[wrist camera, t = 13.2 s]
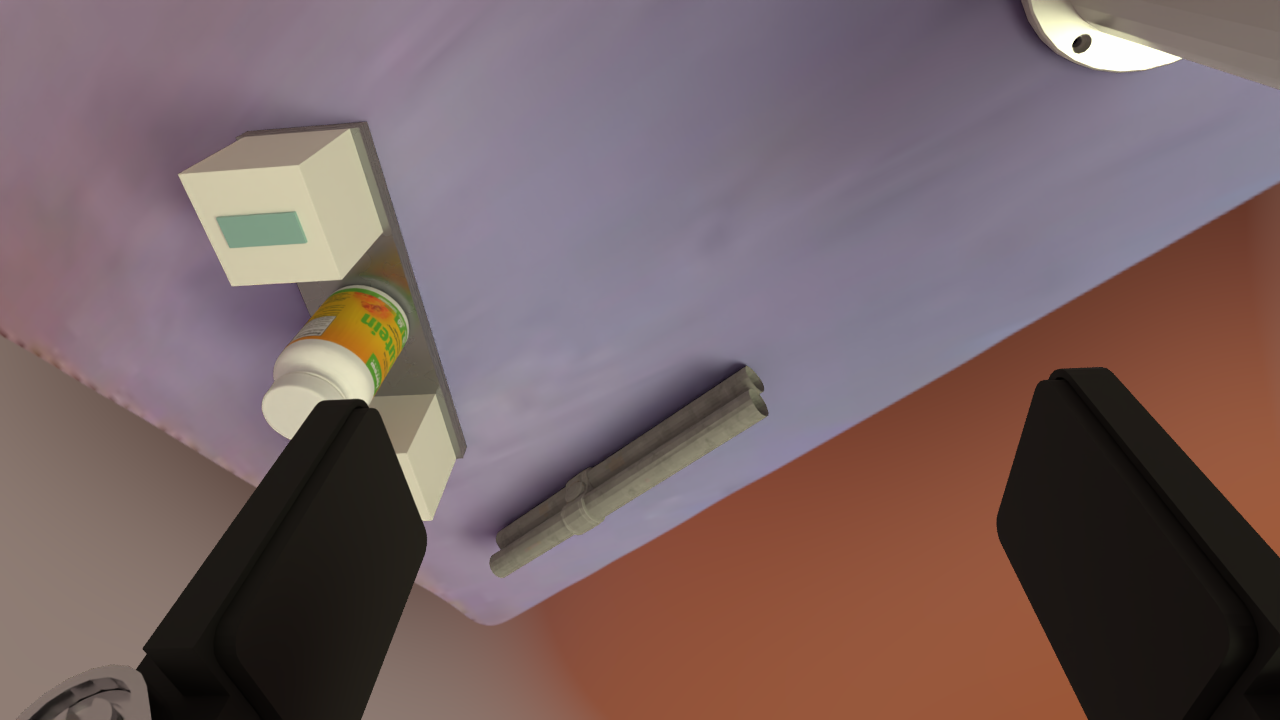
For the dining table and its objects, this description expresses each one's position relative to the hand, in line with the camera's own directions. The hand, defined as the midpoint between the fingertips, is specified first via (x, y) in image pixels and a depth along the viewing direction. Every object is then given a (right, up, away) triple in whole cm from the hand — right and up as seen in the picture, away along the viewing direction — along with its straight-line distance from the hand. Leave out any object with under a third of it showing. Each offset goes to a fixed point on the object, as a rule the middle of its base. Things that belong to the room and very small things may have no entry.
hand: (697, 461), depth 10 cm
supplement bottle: (-18, +4, +34) cm, 38 cm away
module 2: (-18, -3, +39) cm, 42 cm away
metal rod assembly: (-3, -6, +41) cm, 42 cm away
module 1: (-19, +11, +28) cm, 36 cm away
